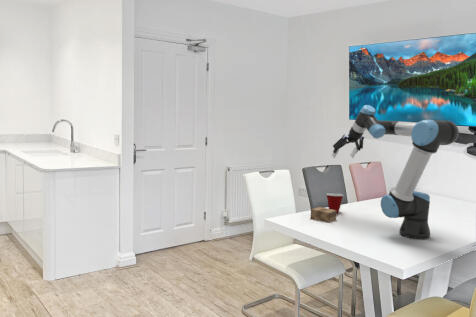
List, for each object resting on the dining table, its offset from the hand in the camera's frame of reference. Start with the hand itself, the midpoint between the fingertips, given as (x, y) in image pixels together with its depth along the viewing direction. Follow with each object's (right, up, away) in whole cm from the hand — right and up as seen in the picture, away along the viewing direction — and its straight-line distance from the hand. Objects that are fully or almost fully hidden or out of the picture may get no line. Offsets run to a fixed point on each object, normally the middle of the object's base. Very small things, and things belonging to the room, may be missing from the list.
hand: (342, 156), depth 268 cm
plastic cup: (-3, -35, +9) cm, 37 cm away
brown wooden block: (-13, -37, -8) cm, 40 cm away
